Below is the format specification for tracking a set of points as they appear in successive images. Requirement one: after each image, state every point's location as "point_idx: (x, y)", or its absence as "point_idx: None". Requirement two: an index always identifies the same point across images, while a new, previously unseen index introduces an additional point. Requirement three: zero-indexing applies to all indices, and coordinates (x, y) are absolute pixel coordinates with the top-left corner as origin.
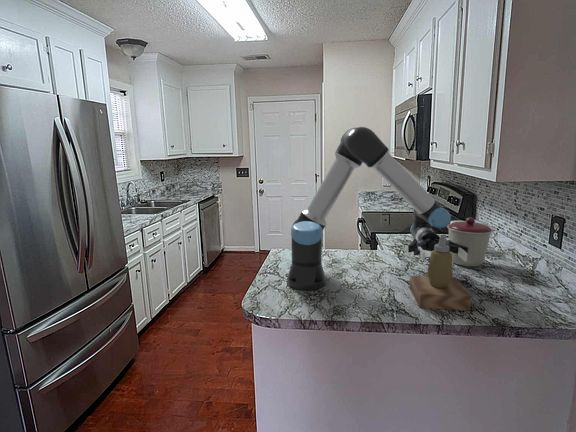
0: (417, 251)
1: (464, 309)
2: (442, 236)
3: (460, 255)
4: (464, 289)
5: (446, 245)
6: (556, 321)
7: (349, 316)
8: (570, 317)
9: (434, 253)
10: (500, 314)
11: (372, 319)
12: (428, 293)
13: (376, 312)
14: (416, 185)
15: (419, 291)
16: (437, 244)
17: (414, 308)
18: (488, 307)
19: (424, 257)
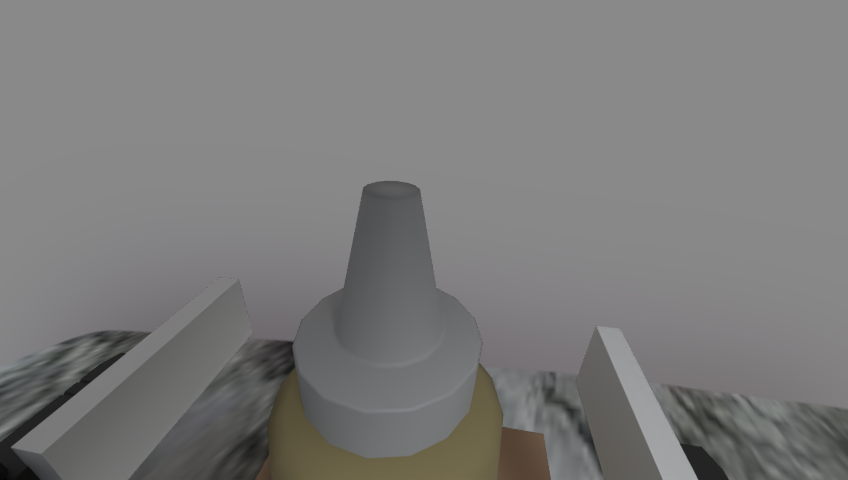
0: (693, 449)
1: None
2: (409, 190)
3: (169, 407)
4: (265, 476)
5: (331, 319)
6: (97, 349)
7: (804, 423)
8: (5, 365)
9: (483, 370)
10: (222, 399)
11: (704, 397)
12: (501, 436)
13: (715, 447)
14: None
15: (547, 466)
16: (428, 371)
17: (553, 474)
18: (200, 461)
19: (582, 364)
